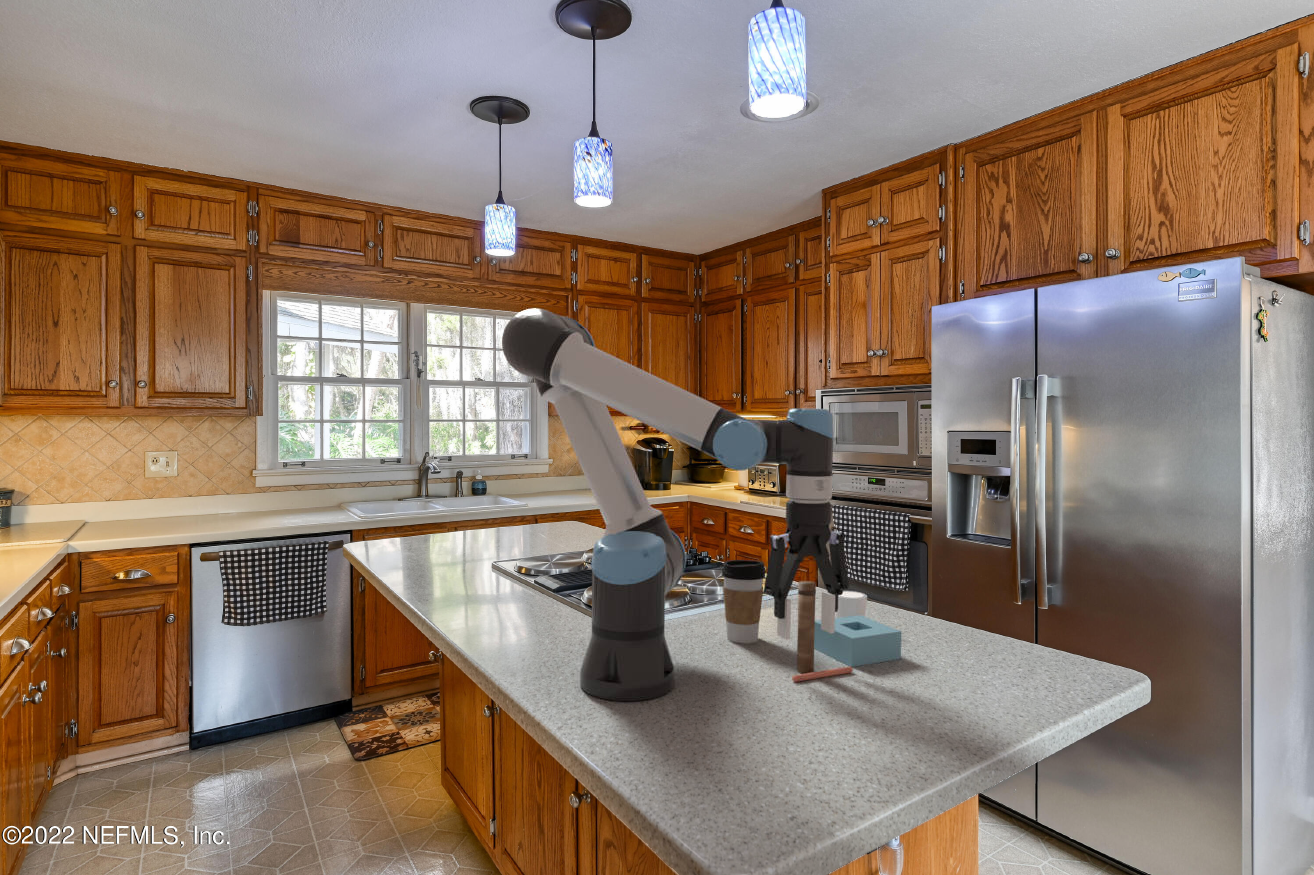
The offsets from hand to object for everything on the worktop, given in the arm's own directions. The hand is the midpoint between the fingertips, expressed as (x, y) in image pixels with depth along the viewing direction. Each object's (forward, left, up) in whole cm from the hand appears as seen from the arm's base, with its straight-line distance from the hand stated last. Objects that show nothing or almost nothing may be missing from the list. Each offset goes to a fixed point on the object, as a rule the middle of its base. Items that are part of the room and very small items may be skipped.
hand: (806, 633), depth 121 cm
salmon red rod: (+1, -4, -6) cm, 7 cm away
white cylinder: (+23, +17, -7) cm, 29 cm away
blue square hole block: (+14, +4, -6) cm, 16 cm away
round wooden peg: (0, 0, -6) cm, 6 cm away
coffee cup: (-1, +19, -7) cm, 20 cm away
